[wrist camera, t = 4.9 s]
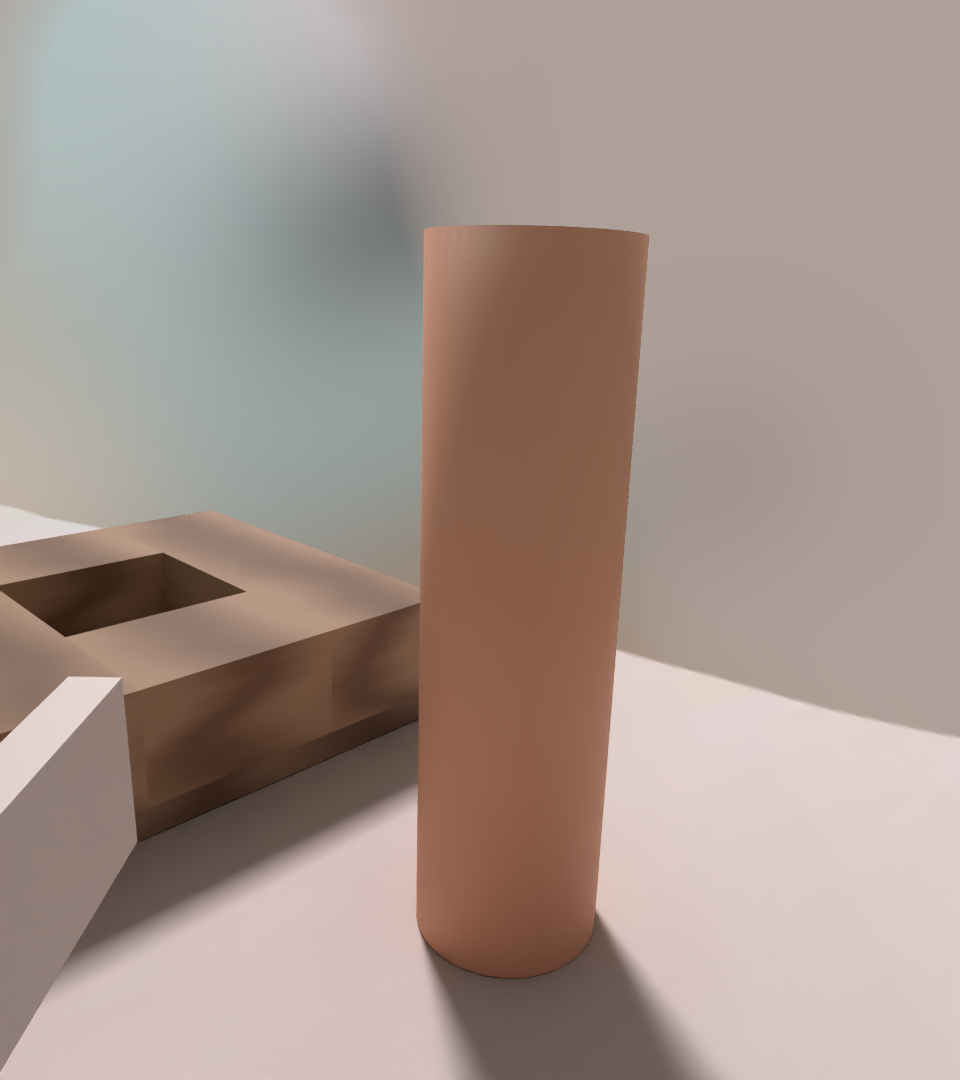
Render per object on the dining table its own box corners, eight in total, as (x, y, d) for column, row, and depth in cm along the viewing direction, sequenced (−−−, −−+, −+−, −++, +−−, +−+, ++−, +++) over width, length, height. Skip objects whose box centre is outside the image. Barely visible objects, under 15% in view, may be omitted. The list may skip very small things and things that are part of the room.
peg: (512, 1010, 21) (551, 222, 16) (379, 908, 24) (377, 228, 19) (630, 911, 24) (692, 239, 19) (499, 833, 28) (524, 242, 23)
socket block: (-44, 921, 23) (-72, 755, 22) (-184, 698, 35) (-208, 581, 34) (440, 709, 36) (442, 596, 34) (216, 597, 48) (211, 510, 46)
